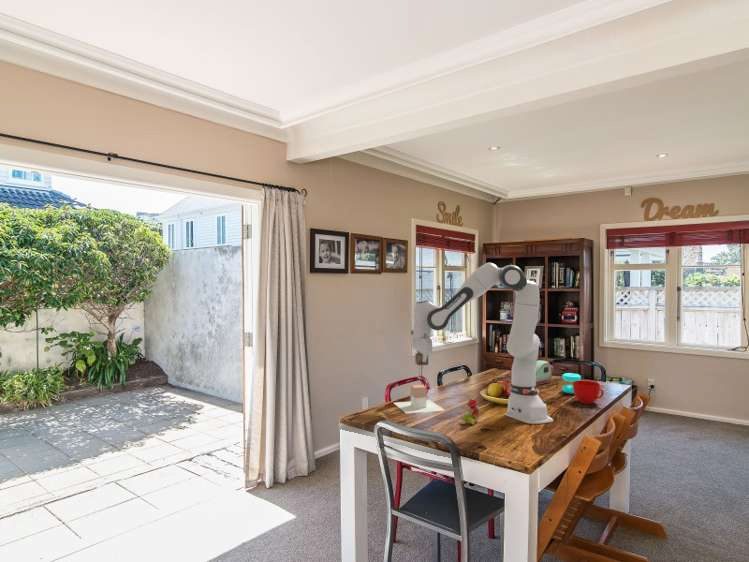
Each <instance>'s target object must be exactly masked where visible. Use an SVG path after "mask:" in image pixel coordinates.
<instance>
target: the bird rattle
mask: <svg viewBox="0 0 749 562" xmlns="http://www.w3.org/2000/svg"><path fill="white" fill-rule="evenodd" d="M466 405H467V407H469V410H468V412H467V413H464V414H463V415H464V416H462V417H461V421H463V422H464V423H465V424H469V423H471V424H470V425H474V426H475V425H476V423H477V422H478V419H480V416H481V414H482V413H481V408H480V407H479V406H478V405H479V403H478V401H477V399H472V398H469V400H468V402H467V403H466Z"/></svg>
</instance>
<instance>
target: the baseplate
mask: <svg viewBox="0 0 749 562" xmlns="http://www.w3.org/2000/svg"><path fill="white" fill-rule="evenodd" d="M393 404H394V405H395V406H396V407H398V408H399V409H400V410H401V411H402V412H404V413H405V414H406V415H407V414H415V413H429V412H443V411H446V409H444V408H443V407H441V406H440V405H438V404H436V403H435V402H433V401H432V400H430V399H426V408H414V407H412V406H411V400H409V401H399V402H398V401H397V402H393Z"/></svg>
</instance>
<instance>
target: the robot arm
mask: <svg viewBox="0 0 749 562" xmlns="http://www.w3.org/2000/svg"><path fill="white" fill-rule="evenodd" d="M497 284H500V285H502V286H503V287H505V288H507V289H510V290H513V291H514V294H515V301H514V311H513V319H512V320H513V321H512V324H511V328H510V331H509V336H508V340H506V341H507V342H506V350H507V352H508V354H510V355H511V356H512V357H514V358H513V362H512V365H511V383H510V386H509V388H510V389H509V390H510V395H509V397H508V400H507V402H508V403H507V411H506V412H505V416H506V417H509V418H511V419H514V420H517V421H519V422H522V423H525V424H529V425H530V424H533V425H535V424H536V425H537V424H538V425H540V424H548V423H552V422H554V419H553V418H552V417H551V416H549V415H548V408H547V407H548V406H547V404H546V403H544V401H543V400H542V399H541V397H540V396H539V392H540V391H539V390H540V389H539V388H538V387H537V386H538V385H536V364H537V361H538V357H539V348H540V346H541V341H540V338H539V336H538V334H536V332H535V331H536V328H537V325H538V322H539V313H540V312H539V311H540V289H539V288H540V287H539V285H538V283H536V282H535V281H533V280H528V279H527V278H526V275H525V273H524V272H523V270H522V268H520V267H519V266H517V265H513V264H509V265H506V266H503V267H498V266H497V264H495V263H492V262H486V263H484V264H483V265H480V266H479V267H478V268H476V270H474V271H473V272H472V273H471V274H470V275H469V276H467V278H466V279H465V280H464V281H463V283H462V284H461V286H460V288H459V289H458V291H457V292H456V293H455V294H454V296H452V297H451V298H450V299H449V300H448V301H447V302H446V303H444V305H442V306H438V305H436V304H435V303H433V302H431V301H430V300H423V301H418V302H416V303H415V305H414V308H413V320H414V323H413V329H412V330H410V335H411V347H412V349H413V350H415V351H416V353H423V358H422V362H426V358H427V356H428V357H429V355H432V354H433V352H434V351H433V340H432V339H431V337H432V330H435V331H442V330H444V329H446V327H447V326H448V324H449V323H450V321H451V318H452V316H454V315H455V314H456V312H458V311H459V310H460V309H461V308H462V307H464V306H465V305H467V304H468V303H469V302H472V301H473V300H474V301H475V300H476V299H478V298H479V297H481V296H483V295H484V294H485V293H487V292H488V291H489V290H490V289H491V288H492V287H493V286H495V285H497Z"/></svg>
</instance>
